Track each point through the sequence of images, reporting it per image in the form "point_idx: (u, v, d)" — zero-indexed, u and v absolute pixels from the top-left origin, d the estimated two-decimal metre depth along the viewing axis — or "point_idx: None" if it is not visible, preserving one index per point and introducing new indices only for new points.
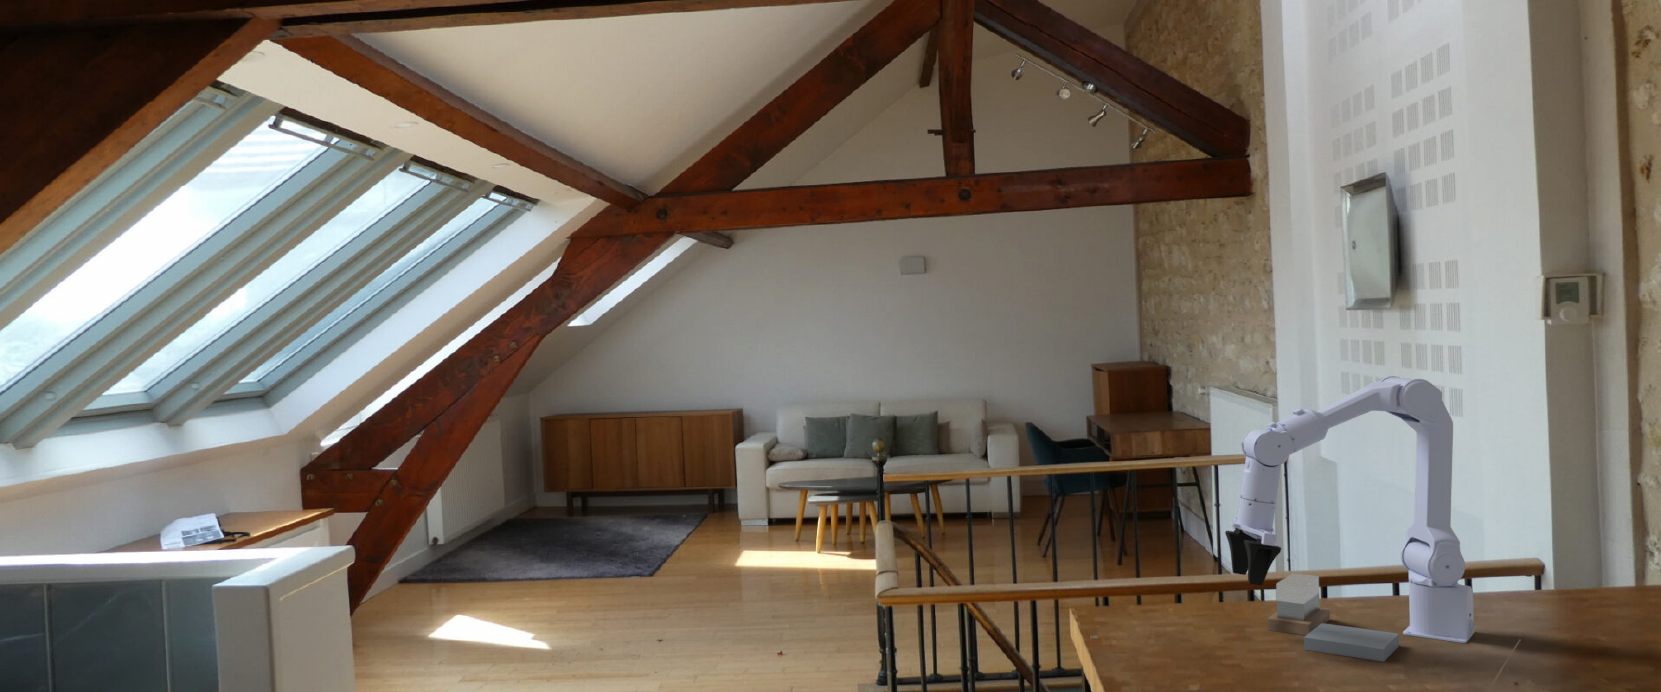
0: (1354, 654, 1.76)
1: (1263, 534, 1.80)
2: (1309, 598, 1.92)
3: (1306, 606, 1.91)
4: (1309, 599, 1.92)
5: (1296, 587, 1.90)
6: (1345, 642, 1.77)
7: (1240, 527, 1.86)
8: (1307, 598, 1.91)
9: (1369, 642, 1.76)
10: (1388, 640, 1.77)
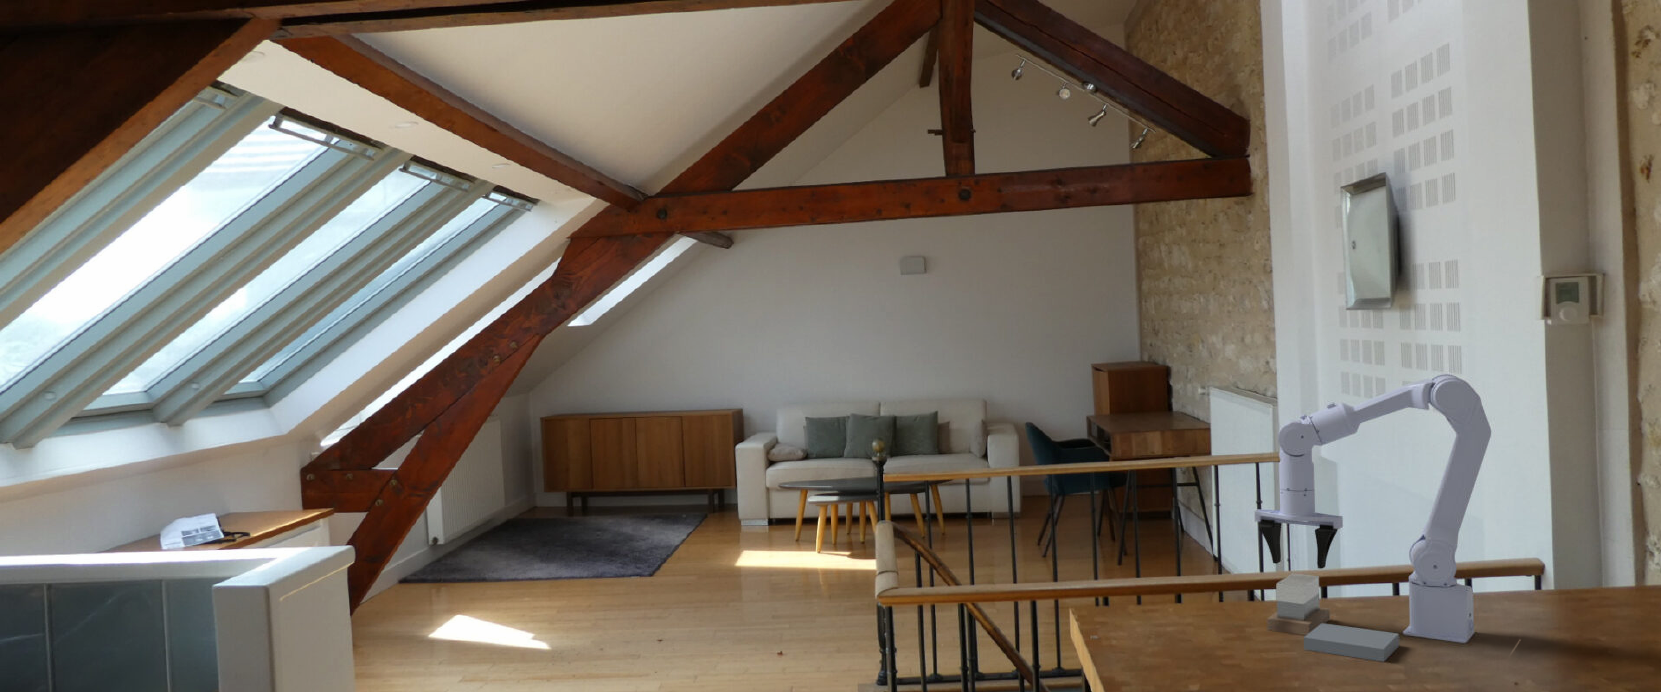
0: (1354, 654, 1.76)
1: None
2: (1309, 598, 1.92)
3: (1306, 606, 1.91)
4: (1309, 599, 1.92)
5: (1296, 587, 1.90)
6: (1345, 642, 1.77)
7: None
8: (1307, 598, 1.91)
9: (1369, 642, 1.76)
10: (1388, 640, 1.77)
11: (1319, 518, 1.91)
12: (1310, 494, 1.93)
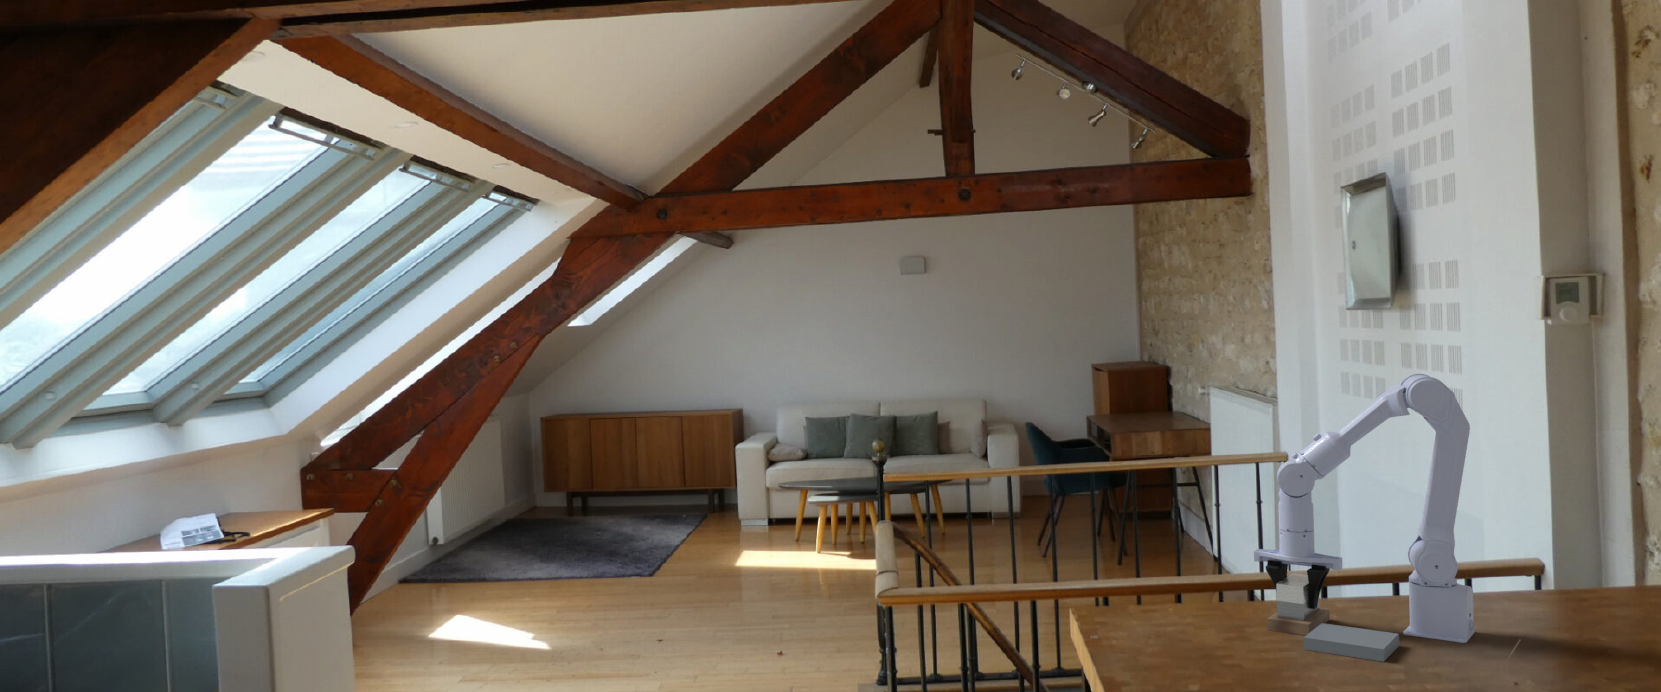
0: (1354, 654, 1.76)
1: None
2: None
3: (1306, 606, 1.91)
4: None
5: (1296, 587, 1.90)
6: (1345, 642, 1.77)
7: None
8: (1307, 598, 1.91)
9: (1369, 642, 1.76)
10: (1388, 640, 1.77)
11: (1319, 559, 1.90)
12: (1310, 535, 1.92)
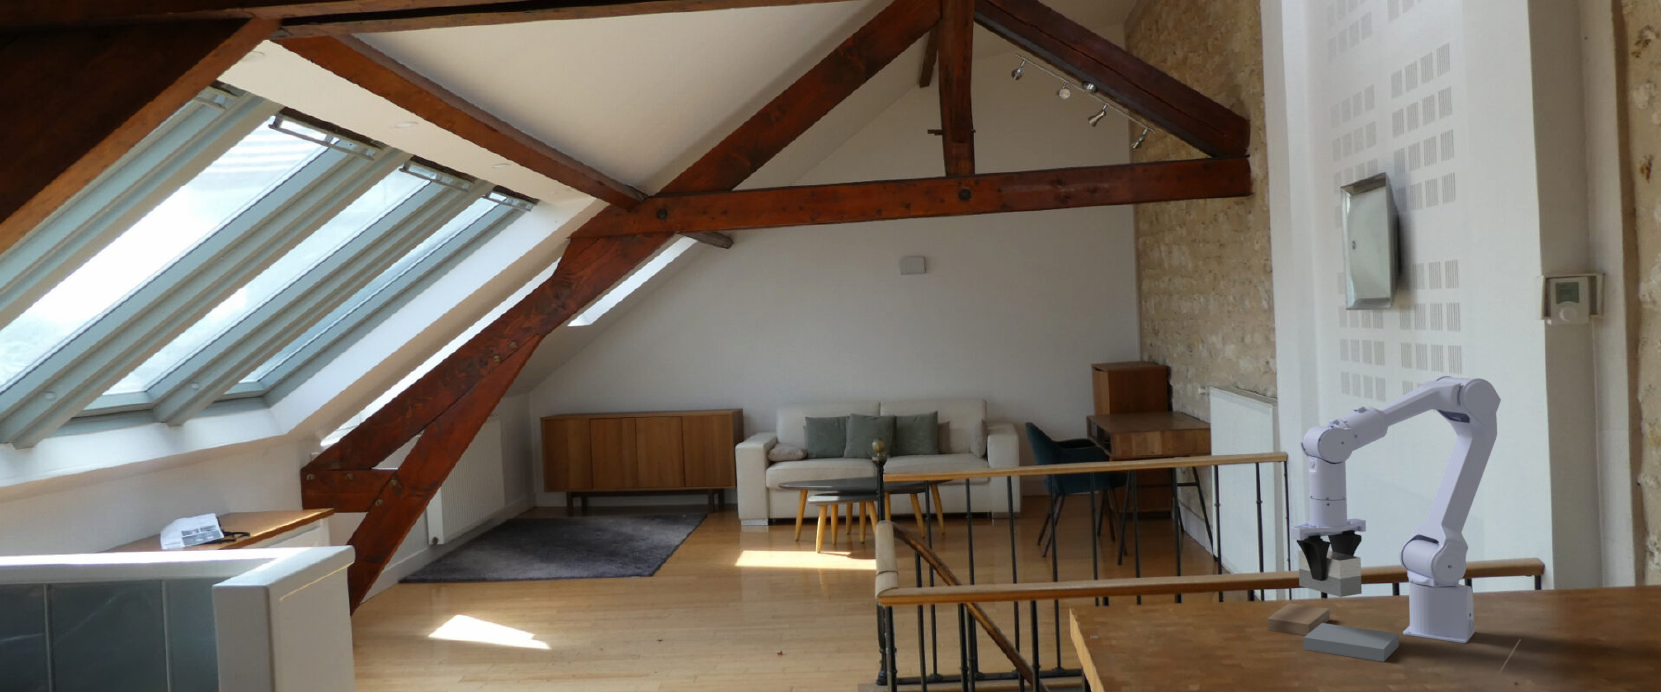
0: (1354, 654, 1.76)
1: None
2: None
3: None
4: None
5: (1355, 559, 1.82)
6: (1345, 642, 1.77)
7: None
8: None
9: (1369, 642, 1.76)
10: (1388, 640, 1.77)
11: (1355, 524, 1.85)
12: None
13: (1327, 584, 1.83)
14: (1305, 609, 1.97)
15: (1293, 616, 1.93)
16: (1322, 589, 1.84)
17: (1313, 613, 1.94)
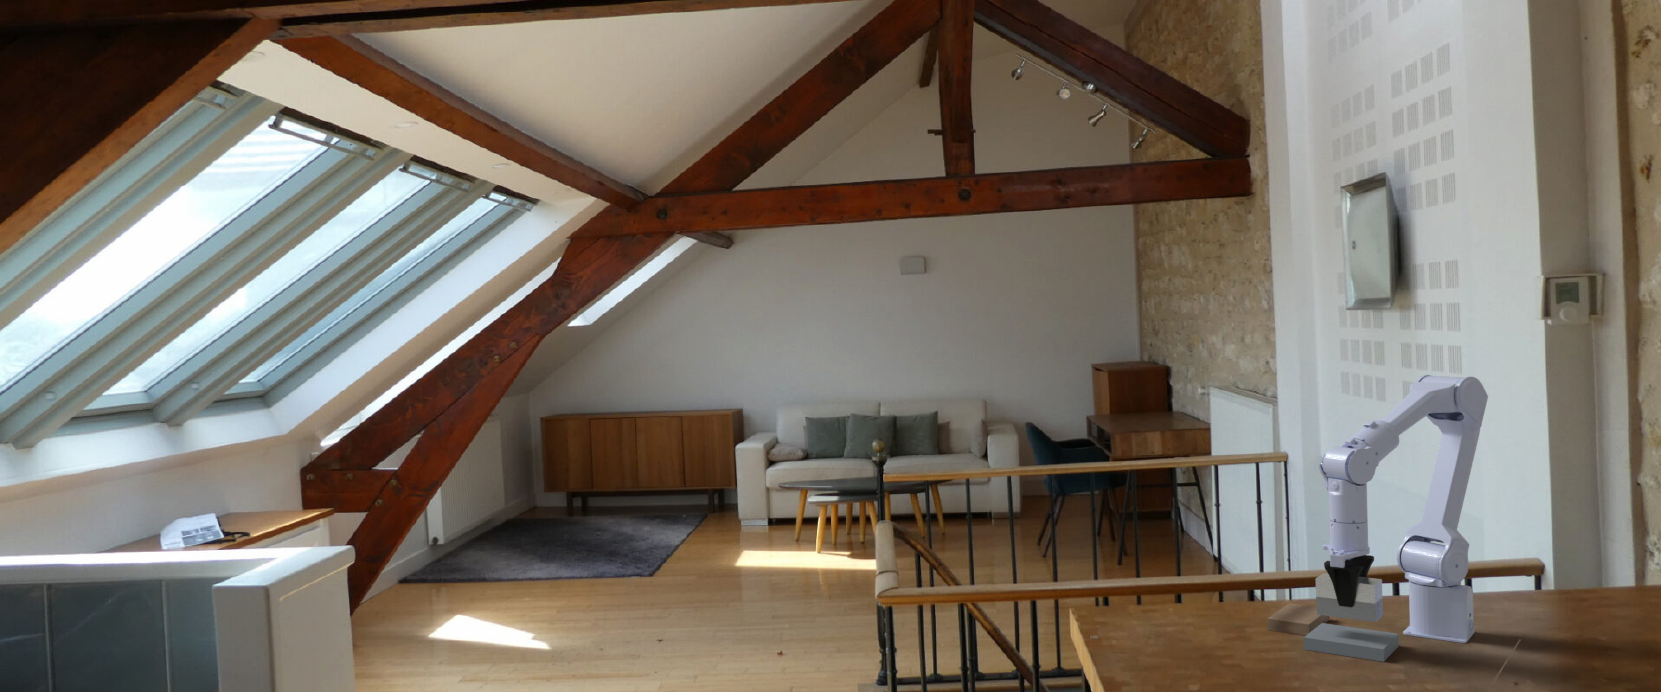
0: (1354, 654, 1.76)
1: (1330, 556, 1.76)
2: None
3: None
4: None
5: (1380, 582, 1.79)
6: (1345, 642, 1.77)
7: (1328, 549, 1.81)
8: None
9: (1369, 642, 1.76)
10: (1388, 640, 1.77)
11: None
12: None
13: (1357, 610, 1.78)
14: (1305, 609, 1.97)
15: (1293, 616, 1.93)
16: (1349, 616, 1.79)
17: (1313, 613, 1.94)
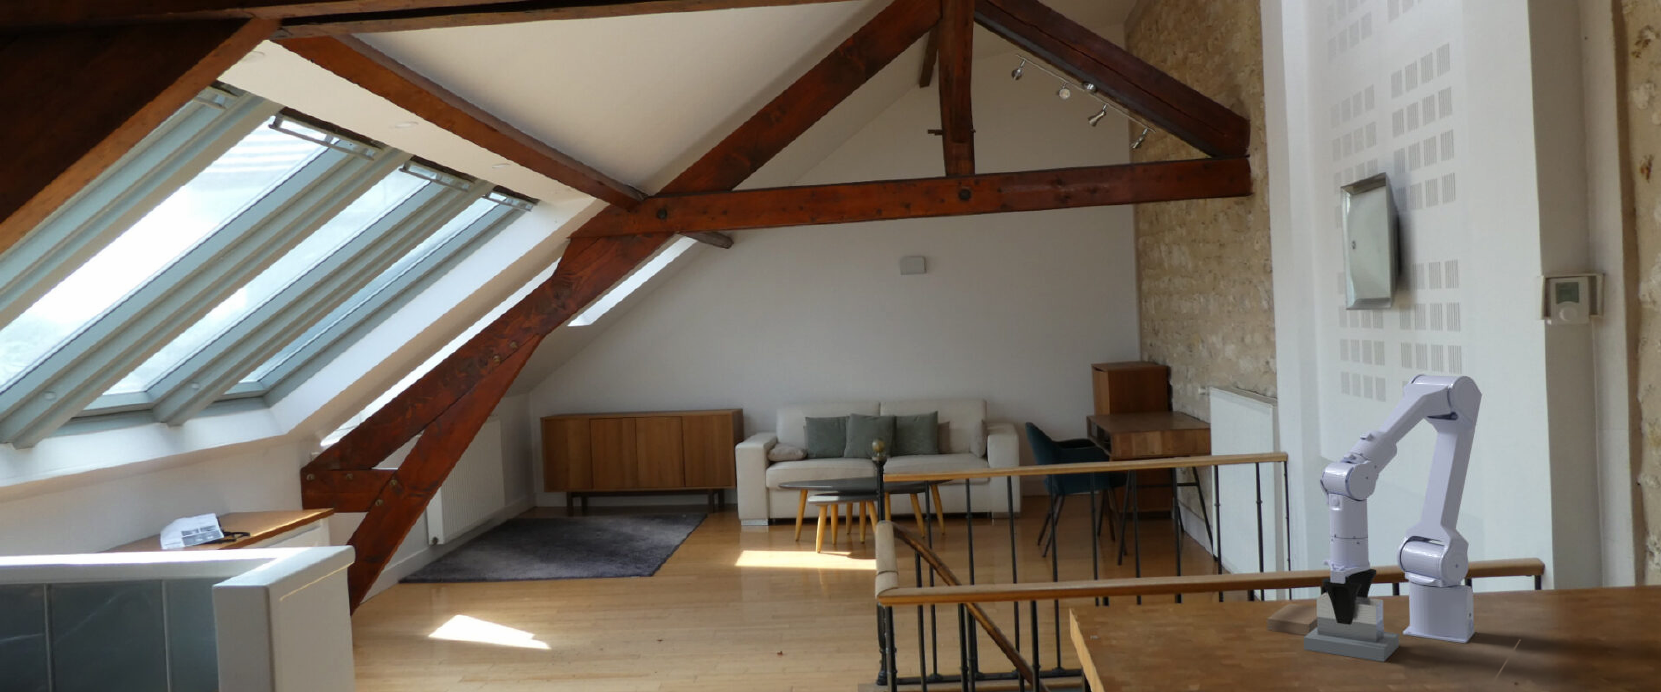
0: (1354, 654, 1.76)
1: None
2: None
3: None
4: None
5: (1381, 602, 1.79)
6: (1345, 642, 1.77)
7: (1329, 564, 1.81)
8: None
9: (1369, 642, 1.76)
10: (1388, 640, 1.77)
11: None
12: None
13: (1358, 631, 1.78)
14: (1305, 609, 1.97)
15: (1293, 616, 1.93)
16: (1350, 636, 1.79)
17: (1313, 613, 1.94)
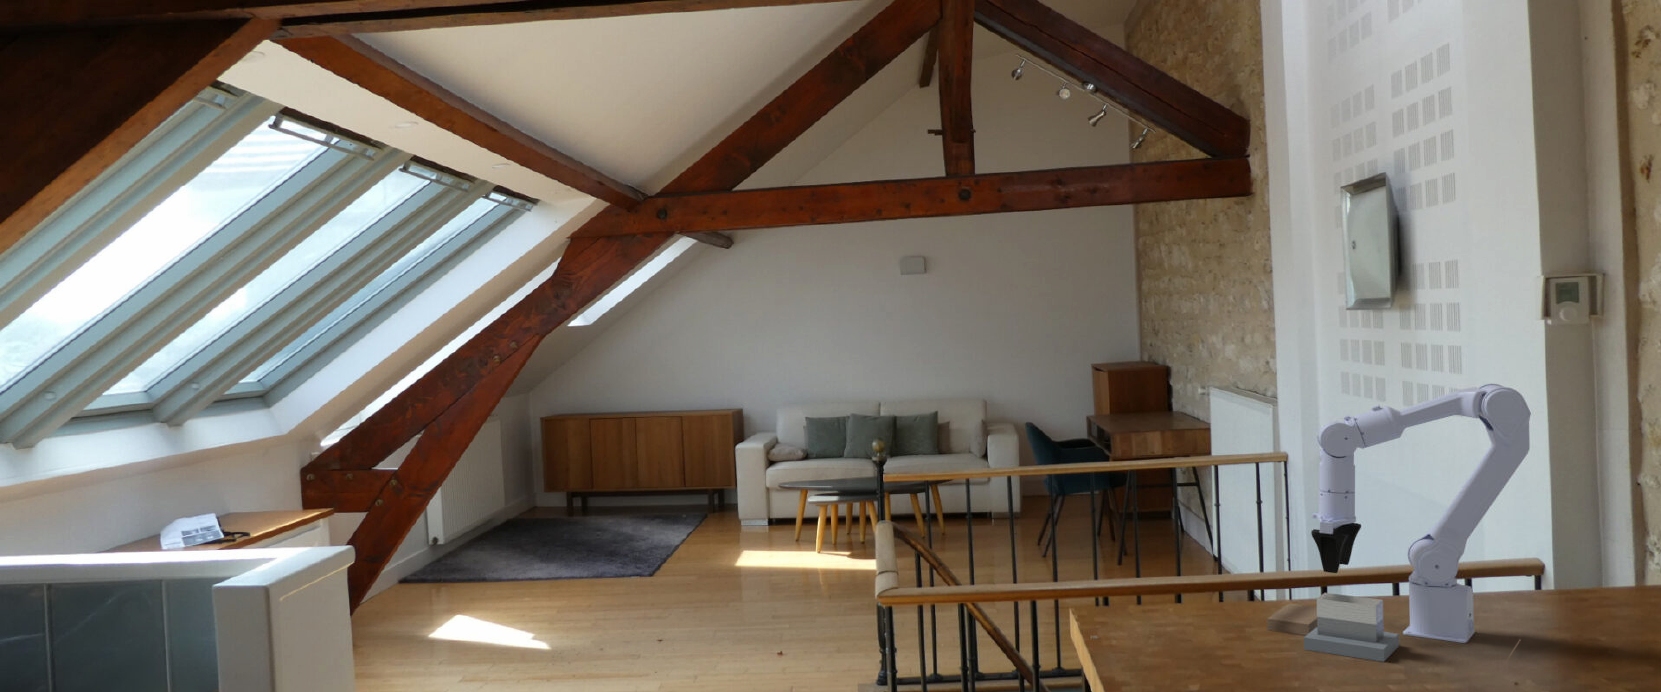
0: (1354, 654, 1.76)
1: (1320, 523, 1.87)
2: None
3: None
4: None
5: (1381, 602, 1.79)
6: (1345, 642, 1.77)
7: (1317, 517, 1.93)
8: None
9: (1369, 642, 1.76)
10: (1388, 640, 1.77)
11: None
12: None
13: (1358, 631, 1.78)
14: (1305, 609, 1.97)
15: (1293, 616, 1.93)
16: (1350, 636, 1.79)
17: (1313, 613, 1.94)
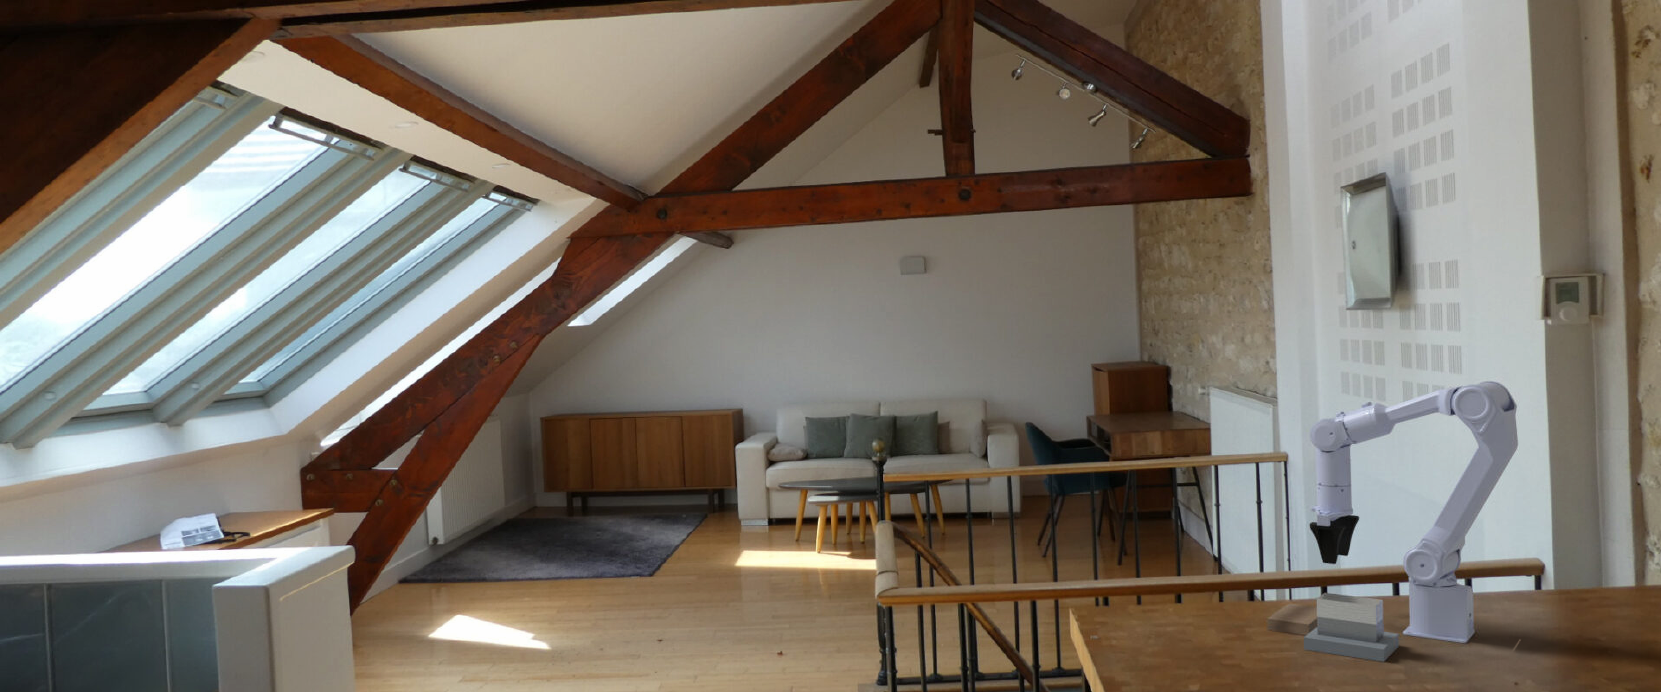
0: (1354, 654, 1.76)
1: (1317, 515, 1.94)
2: None
3: None
4: None
5: (1381, 602, 1.79)
6: (1345, 642, 1.77)
7: (1316, 510, 1.99)
8: None
9: (1369, 642, 1.76)
10: (1388, 640, 1.77)
11: None
12: None
13: (1358, 631, 1.78)
14: (1305, 609, 1.97)
15: (1293, 616, 1.93)
16: (1350, 636, 1.79)
17: (1313, 613, 1.94)
